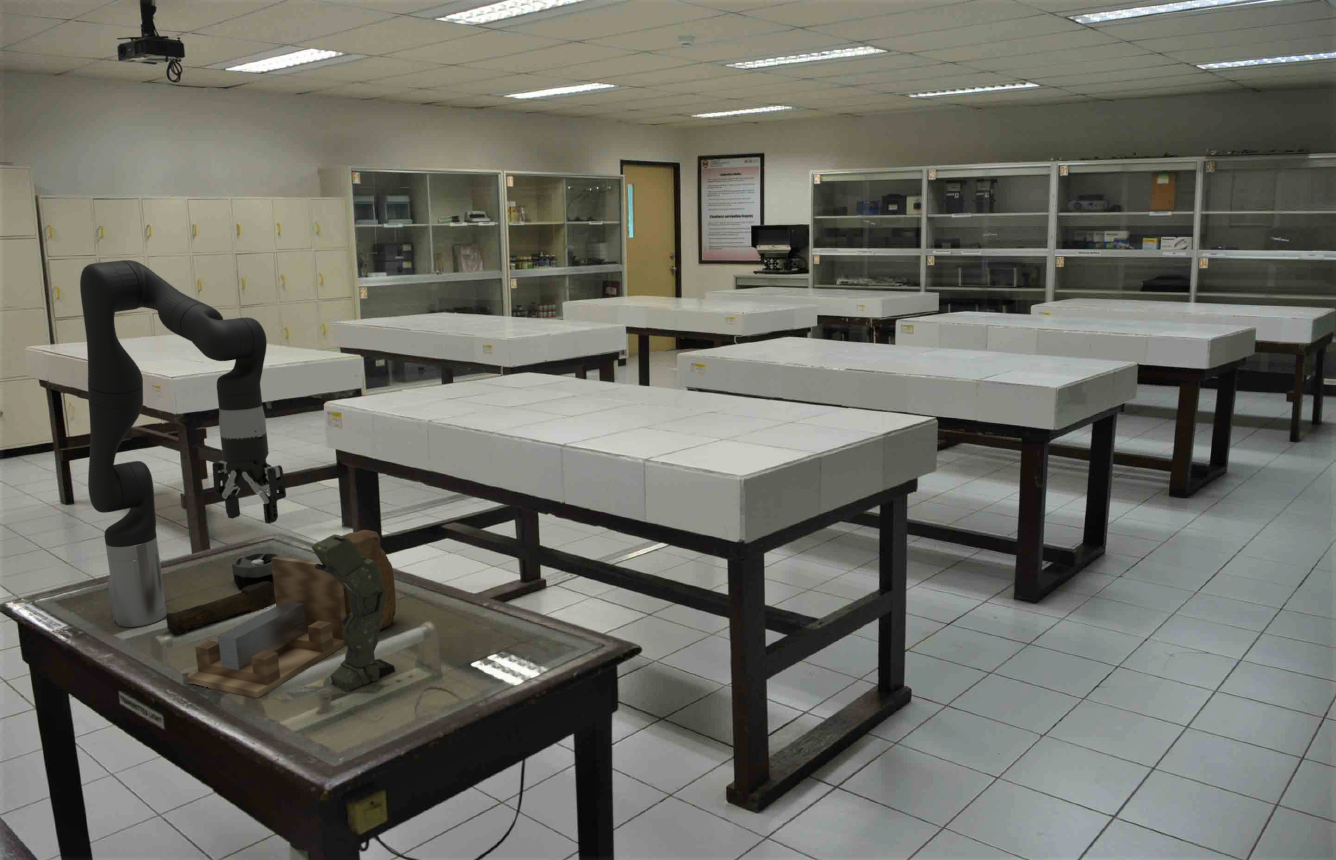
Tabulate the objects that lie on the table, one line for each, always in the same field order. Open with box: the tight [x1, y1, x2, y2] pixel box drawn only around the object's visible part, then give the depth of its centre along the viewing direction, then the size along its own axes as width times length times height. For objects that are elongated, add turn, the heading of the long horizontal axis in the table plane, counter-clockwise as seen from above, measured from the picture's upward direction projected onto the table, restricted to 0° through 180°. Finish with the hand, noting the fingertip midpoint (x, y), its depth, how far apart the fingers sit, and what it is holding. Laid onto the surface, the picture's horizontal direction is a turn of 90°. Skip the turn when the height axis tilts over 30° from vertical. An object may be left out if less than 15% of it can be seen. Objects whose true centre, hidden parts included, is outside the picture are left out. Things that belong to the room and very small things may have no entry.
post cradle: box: [186, 556, 347, 699], centre depth 178 cm, size 16×24×16 cm
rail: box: [217, 601, 307, 670], centre depth 178 cm, size 4×17×6 cm, turn 159°
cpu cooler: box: [231, 552, 281, 591], centre depth 221 cm, size 10×6×10 cm
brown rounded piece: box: [342, 529, 397, 632], centre depth 193 cm, size 11×8×20 cm
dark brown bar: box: [165, 581, 276, 637], centre depth 200 cm, size 23×5×6 cm, turn 137°
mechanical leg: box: [311, 534, 396, 692], centre depth 170 cm, size 13×7×29 cm, turn 140°
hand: (252, 519), depth 174 cm, fingers open, 8 cm apart
